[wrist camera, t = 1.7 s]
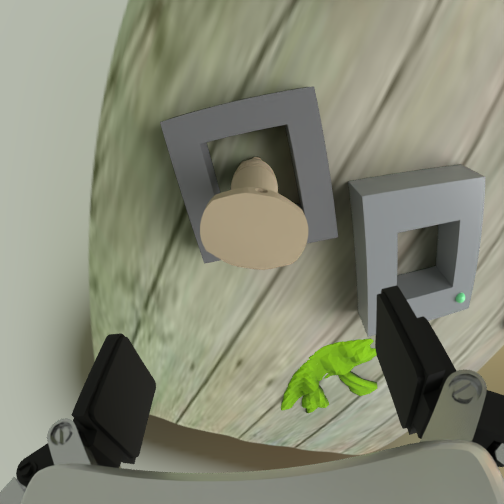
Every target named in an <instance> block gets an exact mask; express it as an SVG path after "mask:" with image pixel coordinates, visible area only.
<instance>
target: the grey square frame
mask: <svg viewBox="0 0 504 504" xmlns="http://www.w3.org/2000/svg"><path fill="white" fill-rule="evenodd" d="M160 124H161V127H162V131H163V134H164V138H165V141H166V144H167V148H168V151H169V155H170V158H171V161H172V165H173V168H174V171H175V174H176V178H177V181H178V184H179V187H180V190H181V194H182V197H183V200H184V203H185V206H186V209H187V212H188V216H189V219H190V222H191V225H192V228H193V231H194V234H195V237H196V240H197V243H198V246H199V249H200V252H201V255H202V258H203V260H204V263H209V262H214V261H219V260H221V259H219V258H218V257H216V256H214V255H213V254H211V253H209V252H208V251H206V249H205V247H204V246H203V243H202V241H201V236H200V224H201V219H202V216H203V213H204V211H205V208H206V206H207V204H208V203H209V201H210V200H211V199H212V198H213V197H214V196H215V195H216V194H219V193H220V190H219V186H218V183H217V179H216V175H215V172H214V168H213V164H212V161H211V157H210V153H209V150H208V146H207V142H209V141H213V140H217V139H221V138H225V137H230V136H234V135H238V134H243V133H247V132H252V131H256V130H261V129H266V128H271V127H276V126H281V125H285V127H286V132H287V137H288V142H289V147H290V152H291V157H292V162H293V167H294V172H295V177H296V182H297V188H298V193H299V199H300V204H296V205H297V206H298V207H299V208H301V209H302V210H303V213H304V215H305V218H306V220H307V224H308V239H307V243H311V242H317V241H322V240H327V239H332V238H337V237H338V232H337V223H336V215H335V207H334V200H333V192H332V185H331V178H330V172H329V165H328V159H327V153H326V147H325V141H324V135H323V130H322V124H321V119H320V114H319V109H318V104H317V99H316V94H315V89H314V87H305V88H299V89H293V90H287V91H281V92H276V93H271V94H265V95H260V96H256V97H251V98H246V99H242V100H237V101H233V102H229V103H225V104H221V105H217V106H213V107H209V108H205V109H202V110H198V111H194V112H191V113H187V114H184V115H181V116H177V117H174V118H171V119H168V120H165V121H162V122H160Z"/></svg>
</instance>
